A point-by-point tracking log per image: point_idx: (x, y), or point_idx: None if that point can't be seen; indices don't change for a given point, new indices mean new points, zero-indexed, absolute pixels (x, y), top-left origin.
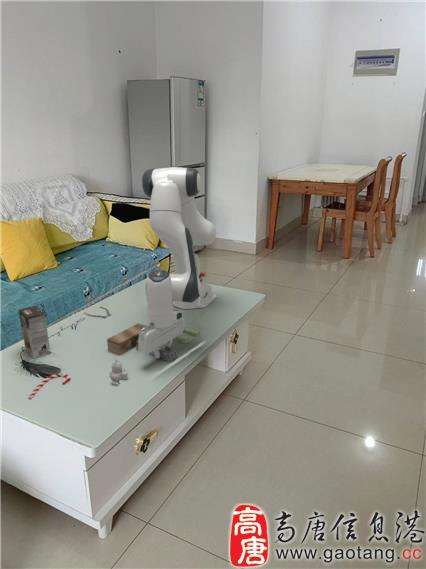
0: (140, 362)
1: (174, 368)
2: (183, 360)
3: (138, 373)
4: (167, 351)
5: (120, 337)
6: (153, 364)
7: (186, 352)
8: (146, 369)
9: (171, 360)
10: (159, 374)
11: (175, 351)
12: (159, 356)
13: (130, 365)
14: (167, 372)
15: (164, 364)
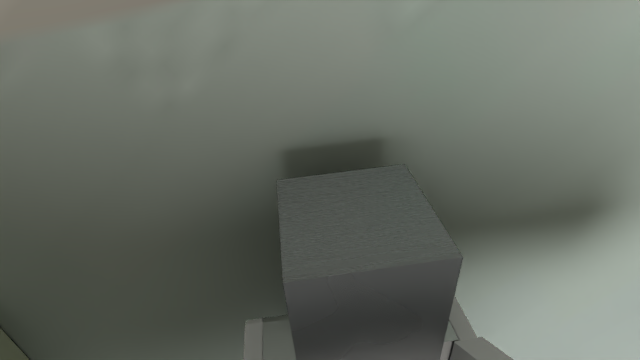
0: None
1: (413, 59)
2: (183, 113)
3: (623, 240)
4: (417, 323)
5: None
6: None
7: (25, 218)
8: (546, 242)
9: (390, 174)
10: (599, 100)
11: (306, 261)
12: None
13: (530, 336)
14: (532, 59)
15: None
